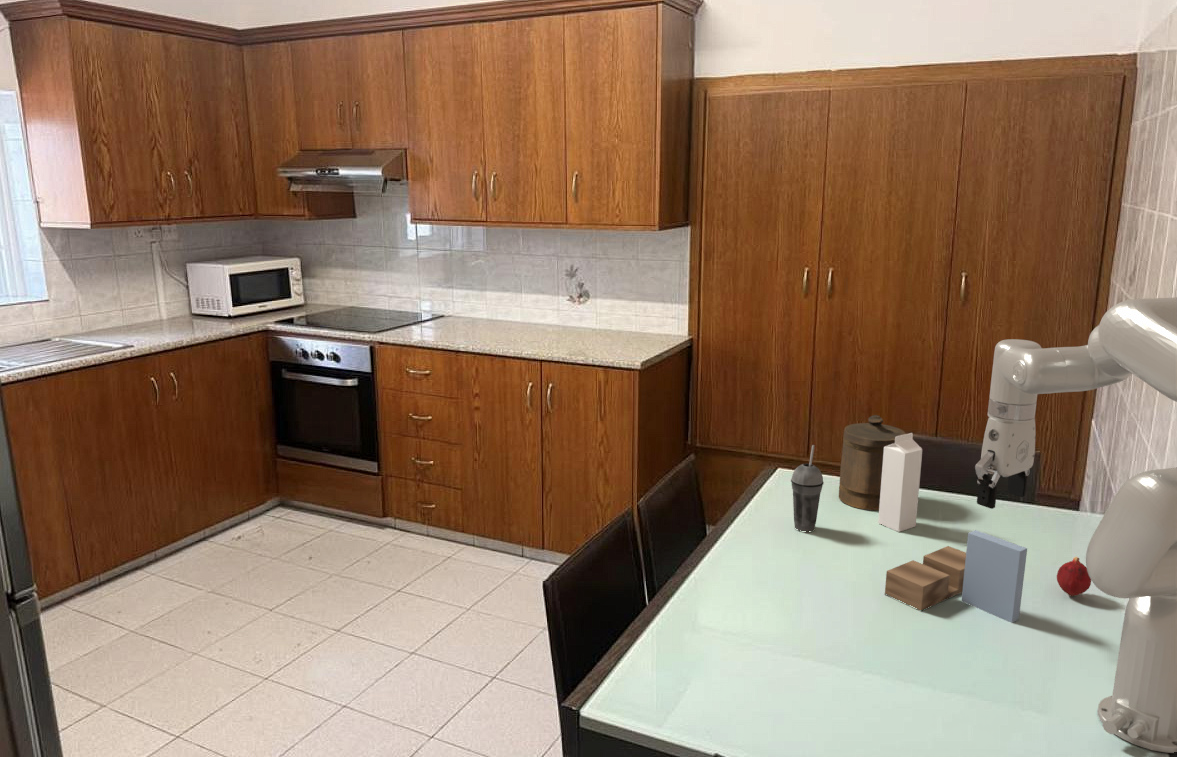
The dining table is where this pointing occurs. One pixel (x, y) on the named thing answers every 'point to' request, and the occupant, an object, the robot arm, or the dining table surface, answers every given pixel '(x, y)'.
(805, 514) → the beverage cup
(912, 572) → the slotted base
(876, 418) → the wooden container
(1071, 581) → the red pomegranate
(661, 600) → the dining table surface
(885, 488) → the milk
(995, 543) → the grey block
